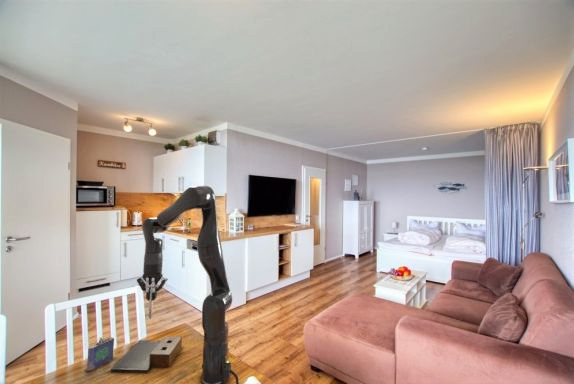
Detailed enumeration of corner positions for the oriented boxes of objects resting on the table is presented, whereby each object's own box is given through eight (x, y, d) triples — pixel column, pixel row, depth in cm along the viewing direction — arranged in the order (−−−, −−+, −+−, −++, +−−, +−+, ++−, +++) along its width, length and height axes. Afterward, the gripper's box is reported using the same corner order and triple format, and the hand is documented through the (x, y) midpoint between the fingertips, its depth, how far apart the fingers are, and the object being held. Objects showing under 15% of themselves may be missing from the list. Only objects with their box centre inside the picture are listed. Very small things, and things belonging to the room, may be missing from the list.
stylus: (152, 317, 116) (154, 288, 116) (151, 319, 114) (152, 289, 114) (149, 317, 115) (151, 288, 116) (147, 319, 114) (149, 289, 114)
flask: (88, 372, 99) (90, 344, 99) (85, 369, 100) (86, 342, 100) (114, 359, 107) (115, 333, 107) (110, 357, 108) (111, 331, 108)
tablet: (169, 343, 120) (169, 340, 120) (146, 372, 100) (147, 369, 100) (139, 342, 119) (139, 340, 119) (110, 371, 99) (111, 369, 99)
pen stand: (181, 348, 116) (181, 337, 116) (168, 367, 103) (169, 354, 103) (163, 347, 116) (164, 336, 116) (149, 366, 103) (149, 354, 103)
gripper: (133, 263, 111) (131, 302, 111) (164, 264, 112) (162, 304, 111) (142, 259, 119) (140, 296, 119) (171, 260, 119) (170, 297, 119)
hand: (151, 299), depth 115 cm, fingers closed on stylus, 1 cm apart
